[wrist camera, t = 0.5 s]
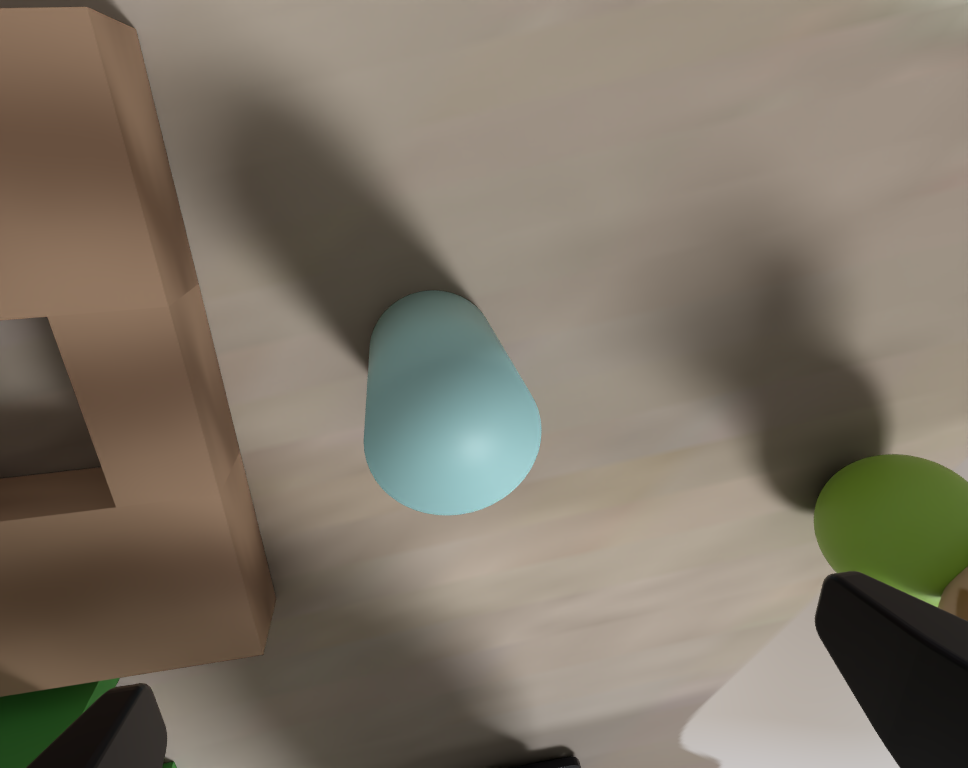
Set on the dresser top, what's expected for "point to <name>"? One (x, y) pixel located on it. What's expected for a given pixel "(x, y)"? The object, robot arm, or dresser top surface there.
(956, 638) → the robot arm
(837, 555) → the snail figurine
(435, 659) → the dresser top surface
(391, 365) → the teal peg
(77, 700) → the hardback book
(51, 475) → the rail
